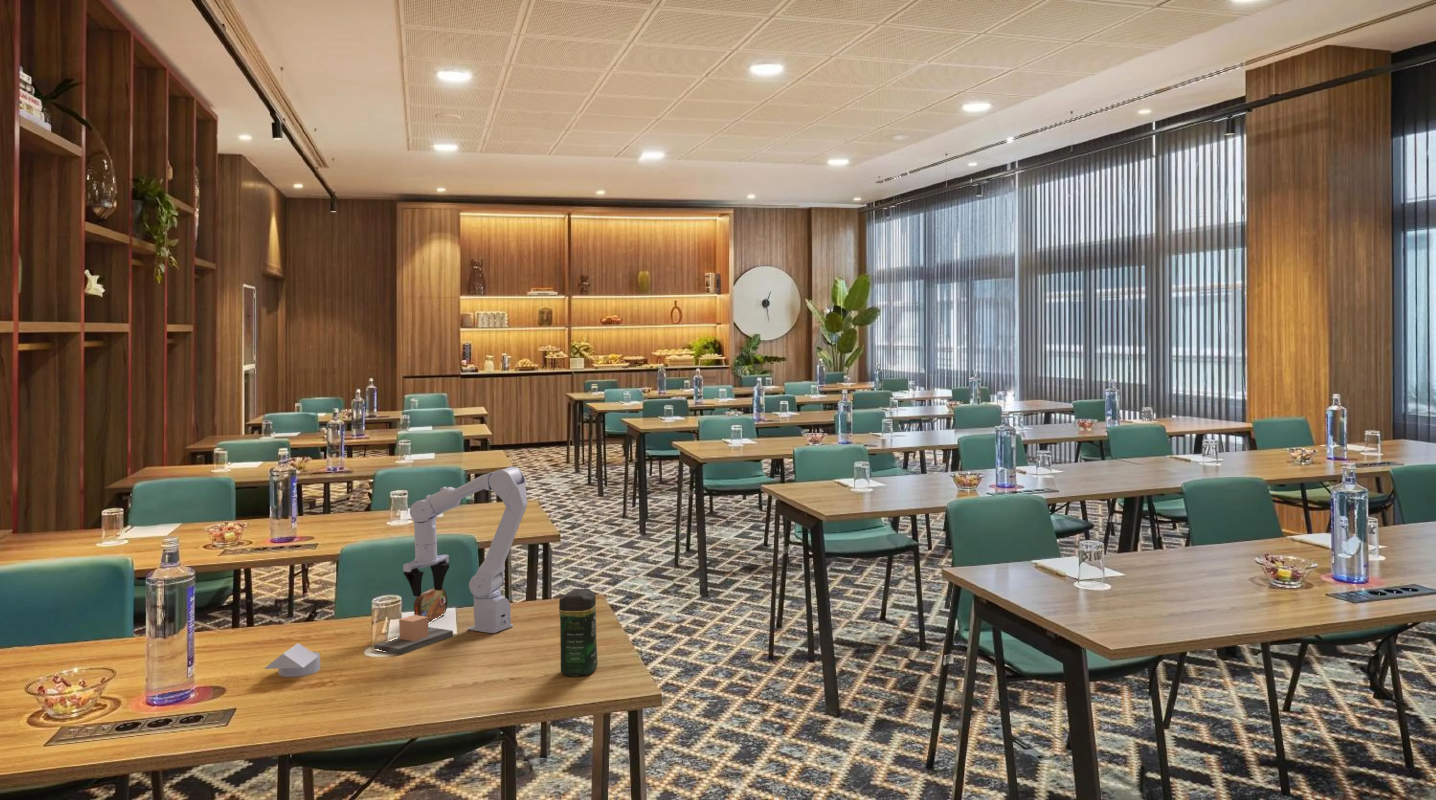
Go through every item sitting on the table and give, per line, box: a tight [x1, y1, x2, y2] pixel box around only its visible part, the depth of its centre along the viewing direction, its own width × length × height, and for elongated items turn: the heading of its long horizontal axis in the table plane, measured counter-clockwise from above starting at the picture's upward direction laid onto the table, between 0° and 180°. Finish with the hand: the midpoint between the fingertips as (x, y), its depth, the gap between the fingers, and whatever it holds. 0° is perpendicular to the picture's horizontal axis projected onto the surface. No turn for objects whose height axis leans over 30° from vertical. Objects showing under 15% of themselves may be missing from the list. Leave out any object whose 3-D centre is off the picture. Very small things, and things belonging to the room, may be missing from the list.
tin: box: [413, 587, 448, 623], centre depth 273 cm, size 15×3×8 cm, turn 168°
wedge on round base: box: [263, 642, 321, 678], centre depth 227 cm, size 9×7×13 cm
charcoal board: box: [373, 626, 454, 656], centre depth 250 cm, size 9×18×2 cm, turn 150°
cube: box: [398, 614, 429, 641], centre depth 249 cm, size 5×5×5 cm
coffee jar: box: [558, 588, 598, 677], centre depth 223 cm, size 10×8×19 cm
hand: (427, 592), depth 265 cm, fingers open, 7 cm apart
